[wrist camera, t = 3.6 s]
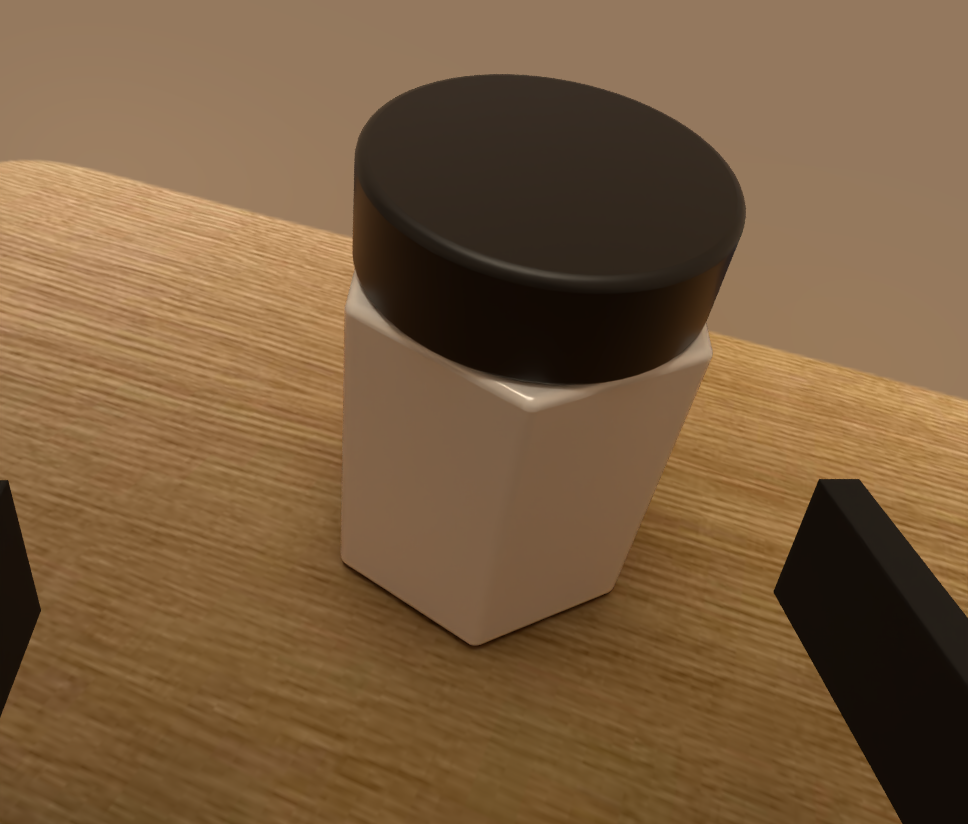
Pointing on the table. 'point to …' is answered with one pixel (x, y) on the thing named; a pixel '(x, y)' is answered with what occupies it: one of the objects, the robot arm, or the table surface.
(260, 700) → the table surface
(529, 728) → the table surface
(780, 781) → the table surface
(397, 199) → the jar
